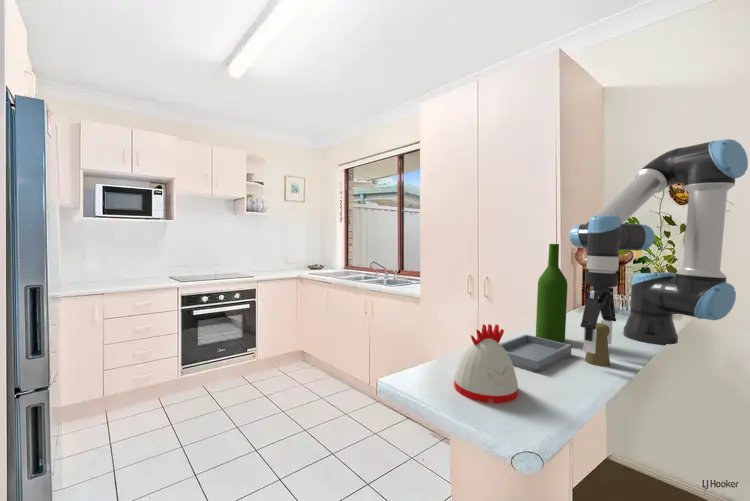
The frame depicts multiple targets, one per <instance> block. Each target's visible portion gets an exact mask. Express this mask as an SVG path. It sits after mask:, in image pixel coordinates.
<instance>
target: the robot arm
mask: <svg viewBox="0 0 750 501" xmlns="http://www.w3.org/2000/svg"><path fill="white" fill-rule="evenodd" d="M748 160H749V159H748V154H747V152H746V150H745V148H744V147H743V145H742V144H741V143H740V142H738V141H737V140H736V139H735V140H734V139H730V138H728V139H727V138H726V139H721V140H712V141H708V142H704V143H702V142H701V143H698V144H694V145H690V146H689V145H688V146H685V147H684V146H682V147H678V148H677V147H676V148H674V149H671V150H669V151H667V152H665V153H662V154H660V155H659V156H657V157H655V158H654V159H652V160H651V161H650V162H649V163H647V164H646V165H645V166H643V167H642V168H641V169H640V170H639V171H638V172H637V173H636V174H635V175H634V179H633V180H632V181H631V182H630V183H629V184H628V185H627V186H626V187H625V188H624V189H623V190H621V191H620V192H619V193H618V194H617V195H616V196H615V197H613V198H612V200H610V201H609V202H608V203H607V204H606V205H605V206H604V207H603V208H602V209H600V210H599V211H598V212H597V213H596V214H595V215H592V216H590V218H589V219H588V221H587V222H586V223H585V224H584V223H582V224H576V225H574V226H573V227H572V228H571V229H570V231H569V234H568V235H569V242H570V243H571V244H572V245H573V246H574V247H577V248H581V249H582V248H583V249H586V251H587V252H586V258H584V262H586V270H587V271H586V272H585V284H586V285H588V286H591V287H592V289H591V290H587V291H586V299H585V304H584V308H583V312H582V318H581V323H580V327H581V328H584V329H583V347H582V351H583V352H585V353H586V352H589V353H593V354H595V351H596V332H597V329H595V327H596V323H598V320H599V317H600V315H601V318H602V319H600V323H602V324H605V325H607V326H608V327H609V328H610V333H609V335H608V336H607V340H608V345H612V341H613V340H612V337H613V322H616V321H617V317H616V311H615V301H614V300H615V299H614V298H615V297H614V290H615V289H614V288H615V287H617V286H618V281H619V275H618V273H617V272H618V271H619V266H620V265H619V263H620V262H619V260H620V251H638V252H639V251H643V250H647V249H649V248H650V247H651V246H652V245H653V244H654V242H655V238H656V235H655V232H654V229H652V227H650V226H649V225H646V224H641V223H625V222H627V220H629V218H630V217H632V215H634V214H635V213H636V212H637V211H638V210H639V209H640V208H641V207H642V206H643V205H645V203H646V202H648V201H649V200H650V199H651V198H652V197H653V196H654V195H655V194H658V193H661V192H663V191H665V189H666V188H668V187H671V186H674V185H675V186H676V185H679V184H682V185H683V189H684V190H685V191H687V192H688V201H687V202H688V203H687V214H686V226H685V237H684V238H685V240H684V248H683V250H684V251H683V260H682V268H681V269H678V271H676V273H674V272H643V273H642V272H640V273H635V274H634V275H633V276H632V280H631V291H630V294H631V295H630V296H631V297H630V312H629V316H628V318H627V320H626V323H625V326H624V327H623V335H624V337H626V338H629V339H632V340H636V341H639V342H645V343H651V344H657V345H675V344H678V342H679V335H678V334H677V331H676V330H677V329H676V326H675V323H674V320H673V316H674V315H673V314H677V315H678V314H679V315H682V316H688V317H692V318H697V319H698V320H699V319H700V320H702V319H703V320H709V321H719V320H721V319H723V318H725V317H726V316H727V315H729V313H730V312H731V310H733V308H734V305H735V303H736V298H737V297H736V296H737V293H736V292H737V291H736V290H735V289H736V288H735V287H734V286H733V285H732V284H731V283H728V282H727V276H726V275H725V274H724V273H723V272H722V271H721V266H722V264H721V263H722V262H721V261H722V253H723V242H724V229H725V222H726V220H725V219H726V207H727V206H726V205H727V196H728V191H729V190H731V189H732V188H734V187H735V186H736V179H739V178H741V177H742V176H744V175H745V174H746V171H747V170H748V167H749V166H748V164H749V161H748ZM600 313H601V314H600Z"/></svg>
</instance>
